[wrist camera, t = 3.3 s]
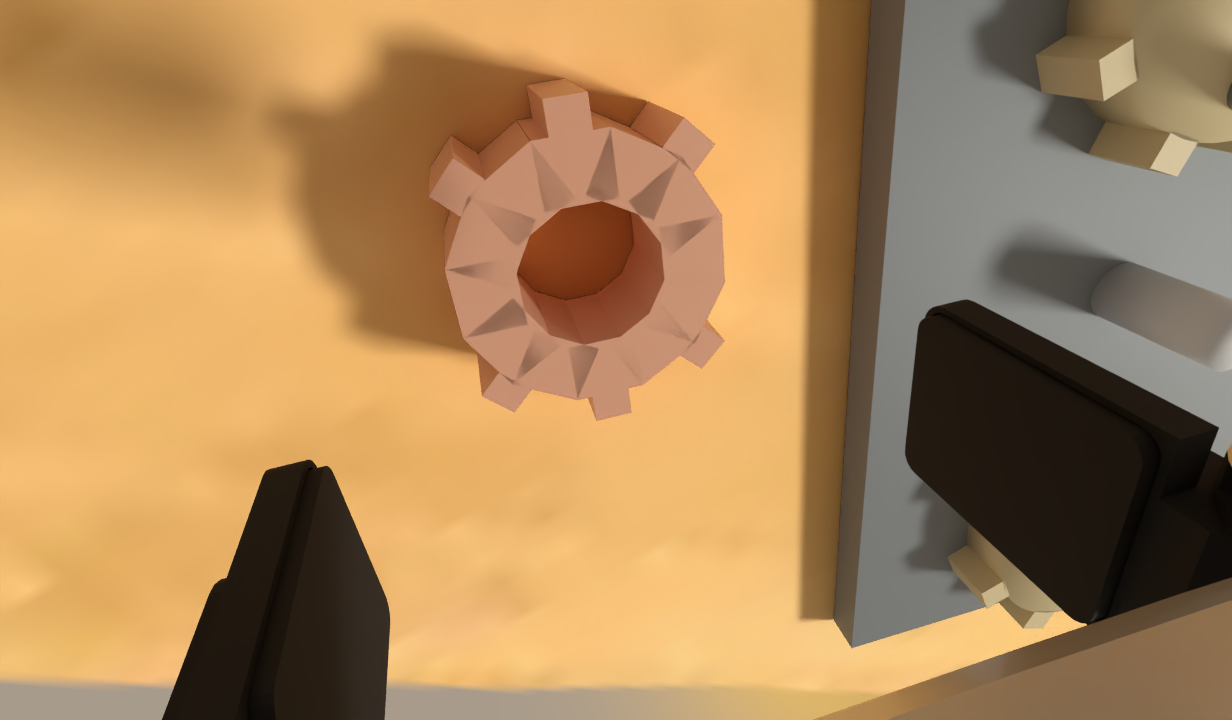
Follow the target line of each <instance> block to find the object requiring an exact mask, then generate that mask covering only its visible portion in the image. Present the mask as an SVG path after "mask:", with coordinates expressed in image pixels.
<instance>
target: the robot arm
mask: <svg viewBox="0 0 1232 720" xmlns="http://www.w3.org/2000/svg"><path fill="white" fill-rule="evenodd" d="M1218 430H1219V427H1217V426H1215V425H1213V424H1211V423H1209V422H1207V421H1205V420H1204V419H1202V418H1200V417H1198V416H1196V415H1194V414H1192V413H1190V412H1188V411H1186V410H1184V409H1182V408H1180V407H1178V406H1176V405H1174V404H1172V403H1170V402H1169V401H1167V400H1165V399H1163V398H1161V397H1159V396H1157V395H1155V394H1153V393H1151V392H1149V391H1147V390H1145V389H1143V388H1141V387H1139V386H1137V385H1135V384H1133V383H1132V382H1130V381H1128V380H1126V379H1124V378H1122V377H1120V376H1118V375H1116V374H1114V373H1112V372H1110V371H1108V370H1106V369H1104V368H1102V367H1100V366H1098V365H1096V364H1095V363H1093V362H1091V361H1089V360H1087V359H1085V358H1083V357H1081V356H1079V355H1077V354H1075V353H1073V352H1071V351H1069V350H1067V349H1065V348H1063V347H1061V346H1060V345H1058V344H1056V343H1054V342H1052V341H1050V340H1048V339H1046V338H1044V337H1042V336H1040V335H1038V334H1036V333H1034V332H1032V331H1030V330H1028V329H1026V328H1024V327H1023V326H1021V325H1019V324H1017V323H1015V322H1013V321H1011V320H1009V319H1007V318H1005V317H1003V316H1001V315H999V314H997V313H995V312H993V311H991V310H989V309H987V308H986V307H984V306H982V305H980V304H978V303H976V302H974V301H971V300H968V299H966V300H960V301H956V302H952V303H947V304H943V305H939V306H935V307H932V308H931V309H930V310H928V312H927V314H926V316H925V318H924V319H922V320H921V322H920V323H919V326H918V332H917V341H916V351H915V360H914V369H913V378H912V388H911V397H910V406H909V416H908V425H907V434H906V444H905V456H906V460H907V463H908V465H909V466H910V468H911V470H912V471H913V472H914V473H915V474H916V475H917V476H918V477H919V478H920V479H922V480H923V481H924V482H925V483H926V484H927V485H928V486H929V487H930V488H931V489H932V490H933V491H934V492H936V493H937V494H938V495H939V496H940V497H941V498H942V499H943V500H944V501H945V502H946V503H947V504H949V505H950V506H951V507H952V508H953V509H954V510H955V511H956V512H957V513H958V514H959V515H960V516H961V517H963V518H964V519H965V520H966V521H967V522H968V523H969V524H970V525H971V526H972V527H973V528H974V529H975V530H977V531H978V532H979V533H980V534H981V535H982V536H983V537H984V538H985V539H986V540H987V541H988V542H990V543H991V544H992V545H993V546H994V547H995V548H996V549H997V550H998V551H999V552H1000V553H1001V554H1002V555H1004V556H1005V557H1006V558H1007V559H1008V560H1009V561H1010V562H1011V563H1012V564H1013V565H1014V566H1015V567H1016V568H1018V569H1019V570H1020V571H1021V572H1022V573H1023V574H1024V575H1025V576H1026V577H1027V578H1028V579H1029V580H1031V581H1032V582H1033V583H1034V584H1035V585H1036V586H1037V587H1038V588H1039V589H1040V590H1041V591H1042V592H1043V593H1045V594H1046V595H1047V596H1048V597H1049V598H1050V599H1051V600H1052V601H1053V602H1054V603H1055V604H1056V605H1057V606H1059V607H1060V608H1061V609H1062V610H1063V611H1064V612H1065V613H1066V614H1067V615H1068V616H1070V617H1071V618H1072V619H1074V620H1075V621H1078V622H1080V623H1086V624H1087V626H1084V627H1081V628H1078V629H1075V630H1072V631H1069V632H1066V633H1064V634H1061V635H1058V636H1055V637H1052V638H1049V639H1046V640H1043V641H1040V642H1037V643H1034V644H1031V645H1028V646H1025V647H1022V648H1019V649H1016V650H1013V651H1010V652H1008V653H1005V654H1002V655H999V656H996V657H993V658H990V659H987V660H984V661H982V662H979V663H976V664H973V665H970V666H967V667H964V668H961V669H958V670H955V671H953V672H950V673H947V674H944V675H941V676H938V677H935V678H932V679H929V680H926V681H924V682H921V683H918V684H915V685H912V686H909V687H906V688H903V689H900V690H897V691H895V692H892V693H889V694H886V695H883V696H880V697H878V698H874V699H872V700H869V701H866V702H863V703H860V704H857V705H854V706H852V707H849V708H846V709H843V710H840V711H837V712H834V713H831V714H828V715H825V716H823V717H820V718H817V719H814V720H1232V444H1231V445H1230V447H1229V448H1228V449H1227V452H1226V454H1225V457H1222V456H1220V455H1218V454H1216V453H1215V452H1213V451H1211V448H1212V445H1213V443H1214V440H1215V438H1216V435H1217V433H1218ZM389 633H390V612H389V606H388V602H387V599H386V596H385V594H384V591H383V589H382V586H381V584H380V582H379V579H378V577H377V575H376V572H375V570H374V568H373V565H372V563H371V561H370V558H369V556H368V554H367V551H366V549H365V547H364V544H363V542H362V540H361V537H360V535H359V533H358V530H357V528H356V525H355V523H354V521H353V518H352V516H351V514H350V511H349V509H348V507H347V504H346V502H345V500H344V497H343V495H342V493H341V490H340V488H339V486H338V483H337V481H336V479H335V476H334V474H333V472H332V470H331V469H330V468H329V467H328V466H324V467H320V468H317V466H316V465H315V464H314V462H313V461H311V460H305V461H301V462H297V463H293V464H289V465H285V466H281V467H277V468H272V469H269V470H267V471H265V473H264V475H263V477H262V480H261V483H260V486H259V489H258V491H257V494H256V497H255V500H254V503H253V505H252V508H251V511H250V514H249V517H248V519H247V522H246V525H245V528H244V531H243V534H242V536H241V539H240V542H239V545H238V548H237V550H236V553H235V556H234V559H233V562H232V564H231V567H230V570H229V573H228V576H227V578H224V579H221V580H220V581H218V582H217V583H216V584H215V585H214V586H213V588H212V590H211V592H210V594H209V596H208V599H207V601H206V604H205V607H204V609H203V612H202V615H201V617H200V620H199V623H198V625H197V628H196V631H195V633H194V636H193V639H192V641H191V644H190V647H189V649H188V652H187V655H186V657H185V660H184V663H183V665H182V668H181V670H180V673H179V676H178V678H177V681H176V684H175V686H174V689H173V692H172V694H171V697H170V700H169V702H168V705H167V708H166V710H165V713H164V716H163V718H162V720H384V718H385V701H386V684H387V667H388V650H389Z"/></svg>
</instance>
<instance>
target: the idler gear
mask: <svg viewBox="0 0 1232 720" xmlns="http://www.w3.org/2000/svg"><path fill="white" fill-rule="evenodd" d="M526 86H527V92H528V98H529V103H530V109H531V114H532V118H529V119H523V120H517V121H515V122H514V123H513V124H512V125H511V126H510V127H509V128H508V129H506V130H505V131H504V132H503V133H502V134H501V135H500V136H498V137H497V138H496V139H495V140H494V141H493V142H492V143H490V144H489V145H488V146H487V147H486V148H485V149H484V150H483V151H481V152H480V153H479V154H478V153H476V152H475V151H473V150H472V149H470V148H469V147H467V146H466V145H464V144H463V143H462V142H460V141H459V140H457V139H456V138H454V137H453V136H451V135H450V137H449V139H448V140H447V142H446V143H445V145H444V147H443V148H442V150H441V151H440V153H439V155H438V156H437V158H436V159H435V161H434V163H433V164H432V166H431V167H430V178H429V196H428V197H430V198H431V199H433V200H434V201H436V202H438V203H439V204H441V205H442V206H444V207H446V208H447V209H449V210H450V213H449V216H448V220H447V223H446V226H445V230H444V262H445V273H446V277H447V281H448V284H449V288H450V292H451V295H452V299H453V303H454V307H455V310H456V314H457V318H458V321H459V325H460V329H461V332H462V336H463V338H464V340H465V341H466V342H467V343H468V344H469V345H470V346H471V347H473V348H474V349H475V350H476V351H477V356H478V365H479V374H480V383H481V392H482V396H483V397H485V398H487V399H489V400H491V401H493V402H495V403H497V404H499V405H501V406H503V407H505V408H507V409H509V410H511V411H513V412H515V411H516V410H517V408H518V407H519V406H520V404H521V403H522V402H523V400H524V399H525V398H526V396H527V395H528V394H529V392H530V391H531V389H533V390H537V391H541V392H545V393H550V394H554V395H558V396H562V397H567V398H571V399H575V400H580V399H585V398H588V400H589V402H590V405H591V407H592V410H593V413H594V415H595V418H596V421H598V420H602V419H606V418H610V417H615V416H619V415H623V414H627V413H631V405H630V398H629V391H628V388H632V387H636V386H640V385H642V384H644V383H646V382H647V381H648V380H650V379H651V378H652V377H653V376H655V375H656V374H657V373H658V372H660V371H661V370H662V369H663V368H665V367H666V366H667V365H669V364H670V363H671V362H672V361H674V360H675V359H676V358H677V357H679V356H680V355H681V356H682V357H684V358H686V359H687V360H689V361H690V362H692V363H693V364H695V365H697V366H698V367H700V368H701V369H702V368H703V366H704V365H705V364H706V363H707V362H708V360H709V359H710V358H711V357H712V356H713V354H714V353H715V352H716V351H717V350H718V348H719V347H720V346H721V345H722V343H723V342H724V341H725V340H724V339H723V338H722V337H721V336H720V335H719V333H718V332H717V331H716V330H715V329H714V328H713V326H712V325H711V324H710V323H709V322H708V321H707V318H708V316H709V314H710V312H711V310H712V308H713V306H714V304H715V302H716V300H717V298H718V296H719V294H720V291H721V289H722V287H723V285H724V282H725V276H724V254H723V232H722V215H721V213H720V211H719V210H718V208H717V207H716V205H715V204H714V202H713V201H712V200H711V198H710V197H709V195H708V194H707V192H706V191H705V189H704V188H703V186H702V185H701V183H700V182H699V181H698V179H697V178H696V176H695V175H694V172H695V171H696V169H697V168H698V167H699V165H700V164H701V163H702V161H703V160H704V159H705V157H706V156H707V155H708V153H709V152H710V151H711V149H712V148H713V147H714V145H715V143H713V142H712V141H711V140H710V139H709V138H708V137H706V136H705V135H704V134H703V133H702V132H701V131H699V130H698V129H697V128H696V127H695V126H694V125H692V124H691V123H690V122H689V121H688V120H687V119H685V118H684V117H682V116H680V115H678V114H675V113H673V112H671V111H669V110H666V109H664V108H662V107H660V106H658V105H655V104H653V103H651V102H649V101H648V102H647V104H646V105H645V107H644V108H643V109H642V111H641V112H640V114H639V115H638V117H637V118H636V119H635V121H634V122H633V124H632V125H631V126H630V127H631V128H630V127H627V126H625V125H623V124H620V123H618V122H615V121H613V120H611V119H608V118H606V117H604V116H601V115H599V114H596V113H594V112H592V111H590V104H589V96H588V91H586V90H584V89H583V88H581V87H579V86H577V85H575V84H574V83H572V82H570V81H568V80H567V79H559V80H553V81H547V82H541V83H535V84H529V85H526ZM600 201H603V202H606V203H609V204H611V205H614V206H617V207H620V208H622V209H625V210H628V211H631V219H632V227H633V236H634V245H633V248H632V250H631V253H630V255H629V257H628V260H627V262H626V264H625V267H624V269H623V272H622V273H621V274H620V275H619V276H618V277H617V278H615V279H614V280H613V281H612V282H611V283H609V284H608V285H607V286H606V287H604V288H603V289H602V290H601V291H600V292H598V293H597V294H593V295H588V296H584V297H579V298H574V299H570V300H562V299H559V298H555V297H552V296H549V295H545V294H542V293H539V292H535V291H534V290H533V289H532V288H531V287H530V286H529V285H528V284H527V283H526V282H525V281H524V280H523V278H522V277H521V276H520V275H519V274H518V273H517V270H518V267H519V265H520V262H521V259H522V256H523V253H524V251H525V248H526V245H527V242H528V239H529V237H530V235H531V234H532V233H534V232H535V231H536V230H537V229H538V228H539V227H541V226H542V225H543V224H544V223H545V222H547V221H548V220H549V219H550V218H551V217H552V216H554V215H555V214H556V213H557V212H558V211H559V210H561V209H563V208H568V207H574V206H579V205H584V204H589V203H594V202H600Z"/></svg>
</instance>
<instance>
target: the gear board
mask: <svg viewBox="0 0 1232 720" xmlns="http://www.w3.org/2000/svg"><path fill="white" fill-rule="evenodd" d="M966 299H968V300H971V301H974V302H976V303H978V304H980V305H982V306H984V307H986V308H987V309H989V310H991V311H993V312H995V313H997V314H999V315H1001V316H1003V317H1005V318H1007V319H1009V320H1011V321H1013V322H1015V323H1017V324H1019V325H1021V326H1023V327H1024V328H1026V329H1028V330H1030V331H1032V332H1034V333H1036V334H1038V335H1040V336H1042V337H1044V338H1046V339H1048V340H1050V341H1052V342H1054V343H1056V344H1058V345H1060V346H1061V347H1063V348H1065V349H1067V350H1069V351H1071V352H1073V353H1075V354H1077V355H1079V356H1081V357H1083V358H1085V359H1087V360H1089V361H1091V362H1093V363H1095V364H1096V365H1098V366H1100V367H1102V368H1104V369H1106V370H1108V371H1110V372H1112V373H1114V374H1116V375H1118V376H1120V377H1122V378H1124V379H1126V380H1128V381H1130V382H1132V383H1133V384H1135V385H1137V386H1139V387H1141V388H1143V389H1145V390H1147V391H1149V392H1151V393H1153V394H1155V395H1157V396H1159V397H1161V398H1163V399H1165V400H1167V401H1169V402H1170V403H1172V404H1174V405H1176V406H1178V407H1180V408H1182V409H1184V410H1186V411H1188V412H1190V413H1192V414H1194V415H1196V416H1198V417H1200V418H1202V419H1204V420H1205V421H1207V422H1209V423H1211V424H1213V425H1215V426H1217V427H1219V430H1218V433H1217V435H1216V438H1215V440H1214V443H1213V445H1212V448H1211V451H1213V452H1215V453H1216V454H1218V455H1220V456H1222V457H1225V454H1226V452H1227V449H1228V448H1229V447H1230V445H1231V444H1232V0H871V16H870V33H869V49H868V66H867V82H866V99H865V115H864V132H863V149H862V165H861V182H860V198H859V215H858V231H857V248H856V264H855V281H854V298H853V314H852V331H851V347H850V364H849V380H848V397H847V413H846V430H845V447H844V463H843V480H842V496H841V513H840V529H839V546H838V562H837V579H836V596H835V612H834V621H835V623H836V624H837V626H838V627H839V629H840V631H841V632H842V634H843V635H844V637H845V638H846V640H847V641H848V643H849V645H850V646H851V648H853V647H857V646H860V645H863V644H866V643H870V642H873V641H876V640H879V639H883V638H886V637H889V636H892V635H896V634H899V633H902V632H906V631H909V630H912V629H915V628H919V627H922V626H925V625H928V624H932V623H935V622H938V621H941V620H945V619H948V618H951V617H954V616H958V615H961V614H964V613H967V612H971V611H974V610H977V609H980V608H984V607H986V608H989V607H991V606H993V605H994V604H997V603H1000V604H1001V605H1002V606H1003V607H1004V608H1005V610H1006V611H1007V612H1008V613H1009V614H1010V615H1011V616H1012V617H1013V618H1014V619H1015V620H1016V621H1017V622H1018V623H1019V624H1020V625H1021V627H1022V628H1043V627H1044V626H1045V624H1046V623H1047V622H1048V620H1049V619H1050V617H1051V616H1052V615H1053V613H1054V612H1058V611H1063V610H1062V609H1061V608H1060V607H1059V606H1057V605H1056V604H1055V603H1054V602H1053V601H1052V600H1051V599H1050V598H1049V597H1048V596H1047V595H1046V594H1045V593H1043V592H1042V591H1041V590H1040V589H1039V588H1038V587H1037V586H1036V585H1035V584H1034V583H1033V582H1032V581H1031V580H1029V579H1028V578H1027V577H1026V576H1025V575H1024V574H1023V573H1022V572H1021V571H1020V570H1019V569H1018V568H1016V567H1015V566H1014V565H1013V564H1012V563H1011V562H1010V561H1009V560H1008V559H1007V558H1006V557H1005V556H1004V555H1002V554H1001V553H1000V552H999V551H998V550H997V549H996V548H995V547H994V546H993V545H992V544H991V543H990V542H988V541H987V540H986V539H985V538H984V537H983V536H982V535H981V534H980V533H979V532H978V531H977V530H975V529H974V528H973V527H972V526H971V525H970V524H969V523H968V522H967V521H966V520H965V519H964V518H963V517H961V516H960V515H959V514H958V513H957V512H956V511H955V510H954V509H953V508H952V507H951V506H950V505H949V504H947V503H946V502H945V501H944V500H943V499H942V498H941V497H940V496H939V495H938V494H937V493H936V492H934V491H933V490H932V489H931V488H930V487H929V486H928V485H927V484H926V483H925V482H924V481H923V480H922V479H920V478H919V477H918V476H917V475H916V474H915V473H914V472H913V471H912V470H911V468H910V466H909V465H908V463H907V460H906V456H905V444H906V434H907V425H908V416H909V406H910V397H911V388H912V378H913V369H914V360H915V351H916V341H917V332H918V326H919V323H920V322H921V320H922V319H924V318H925V316H926V314H927V312H928V310H930V309H931V308H932V307H935V306H939V305H943V304H947V303H952V302H956V301H960V300H966Z"/></svg>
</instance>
